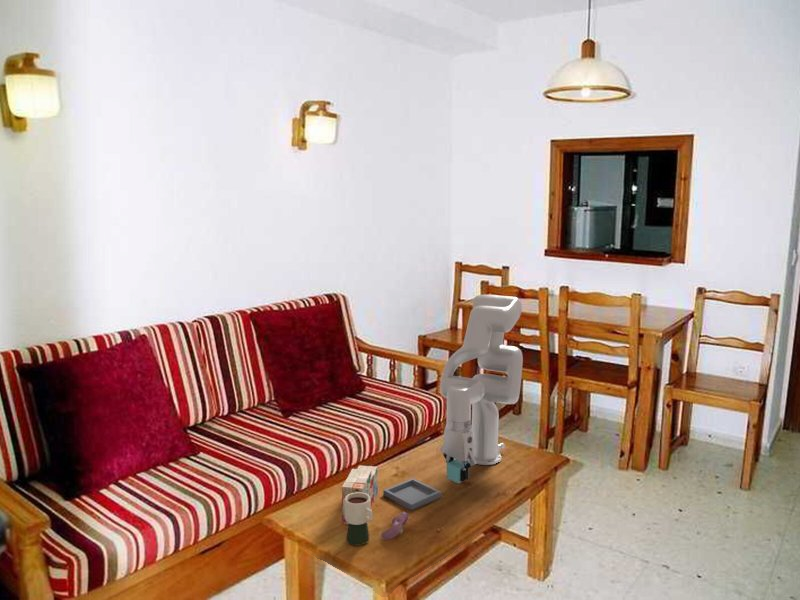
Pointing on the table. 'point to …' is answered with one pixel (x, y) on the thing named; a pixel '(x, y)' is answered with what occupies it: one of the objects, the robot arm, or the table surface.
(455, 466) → the cube
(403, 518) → the purple elongated lump
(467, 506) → the table surface
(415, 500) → the tray
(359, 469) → the stack of blocks
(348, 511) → the character mug
